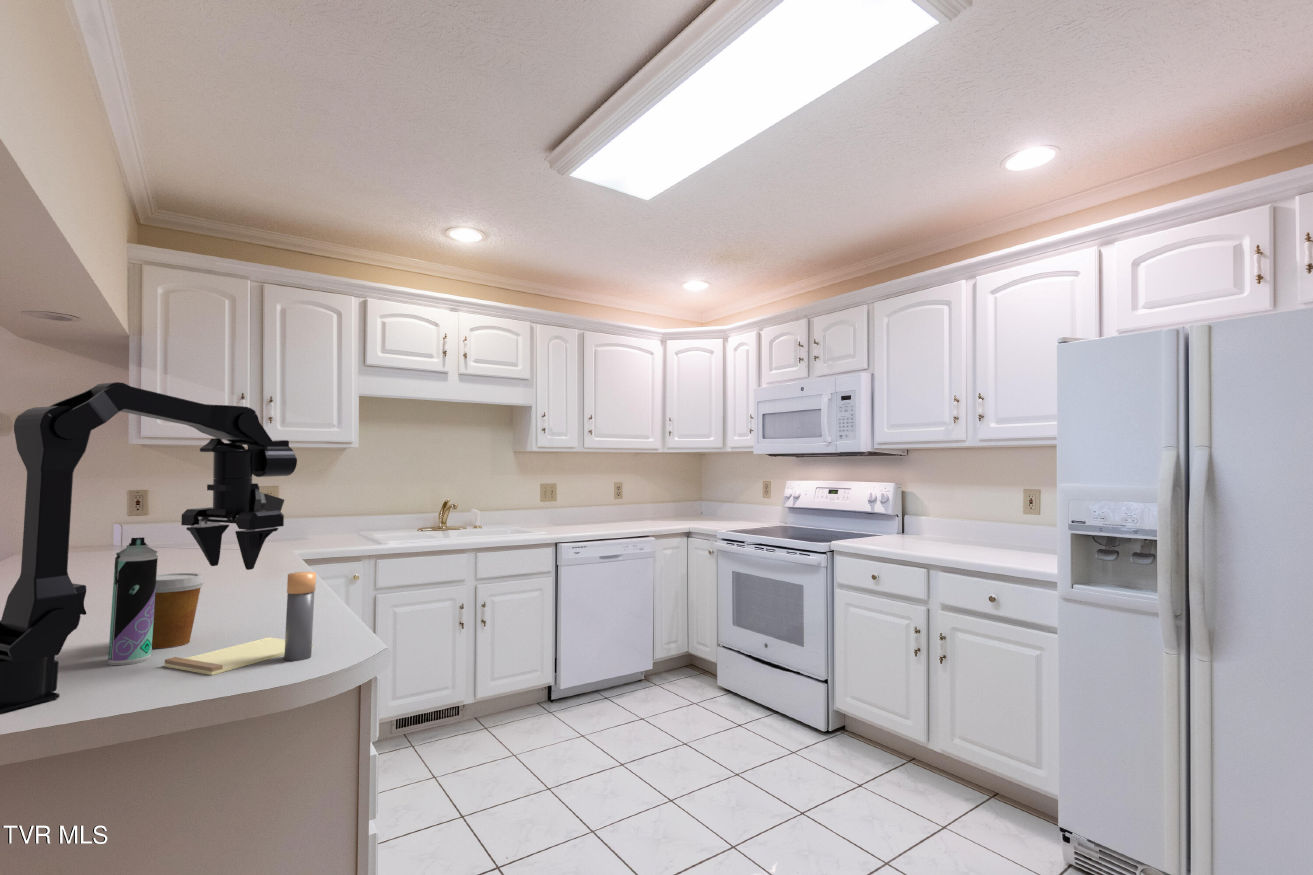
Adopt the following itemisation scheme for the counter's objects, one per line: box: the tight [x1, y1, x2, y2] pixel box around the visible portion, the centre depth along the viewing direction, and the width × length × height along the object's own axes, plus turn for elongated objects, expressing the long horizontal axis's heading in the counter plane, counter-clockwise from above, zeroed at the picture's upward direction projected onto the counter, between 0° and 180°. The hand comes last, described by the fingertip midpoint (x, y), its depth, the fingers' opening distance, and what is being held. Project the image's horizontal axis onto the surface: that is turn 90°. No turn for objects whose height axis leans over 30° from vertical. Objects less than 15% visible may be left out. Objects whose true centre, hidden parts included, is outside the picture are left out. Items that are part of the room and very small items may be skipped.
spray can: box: [107, 537, 159, 666], centre depth 105 cm, size 6×6×20 cm
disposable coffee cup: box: [152, 572, 205, 649], centre depth 115 cm, size 10×10×12 cm
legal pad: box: [164, 636, 314, 676], centre depth 108 cm, size 18×11×1 cm, turn 159°
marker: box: [283, 571, 317, 662], centre depth 108 cm, size 4×4×14 cm
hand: (231, 567), depth 111 cm, fingers open, 9 cm apart
